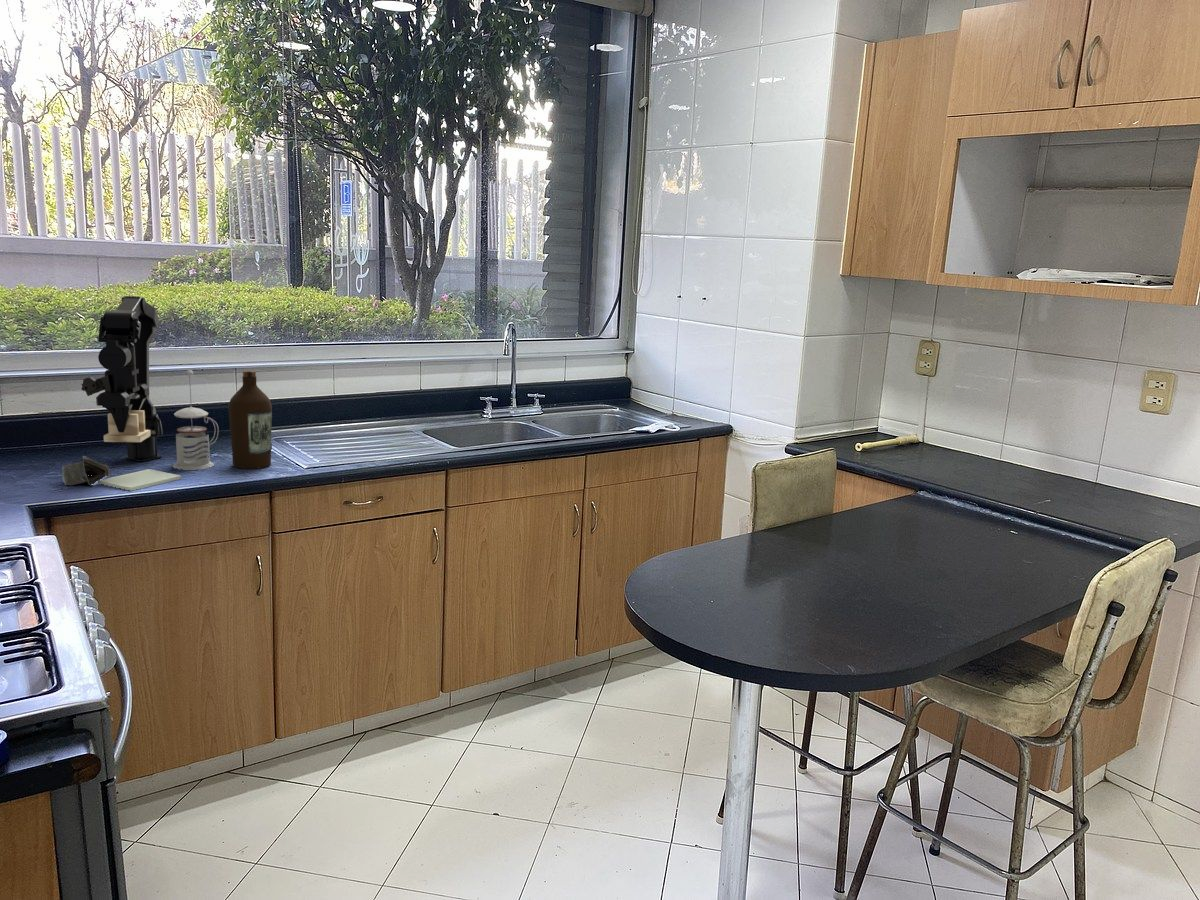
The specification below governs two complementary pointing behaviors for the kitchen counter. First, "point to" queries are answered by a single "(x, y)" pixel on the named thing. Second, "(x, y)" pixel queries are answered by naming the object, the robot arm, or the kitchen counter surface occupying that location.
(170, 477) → the sage board
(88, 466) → the chocolate cake
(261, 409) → the olive oil
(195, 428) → the french press
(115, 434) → the wooden slotted holder
